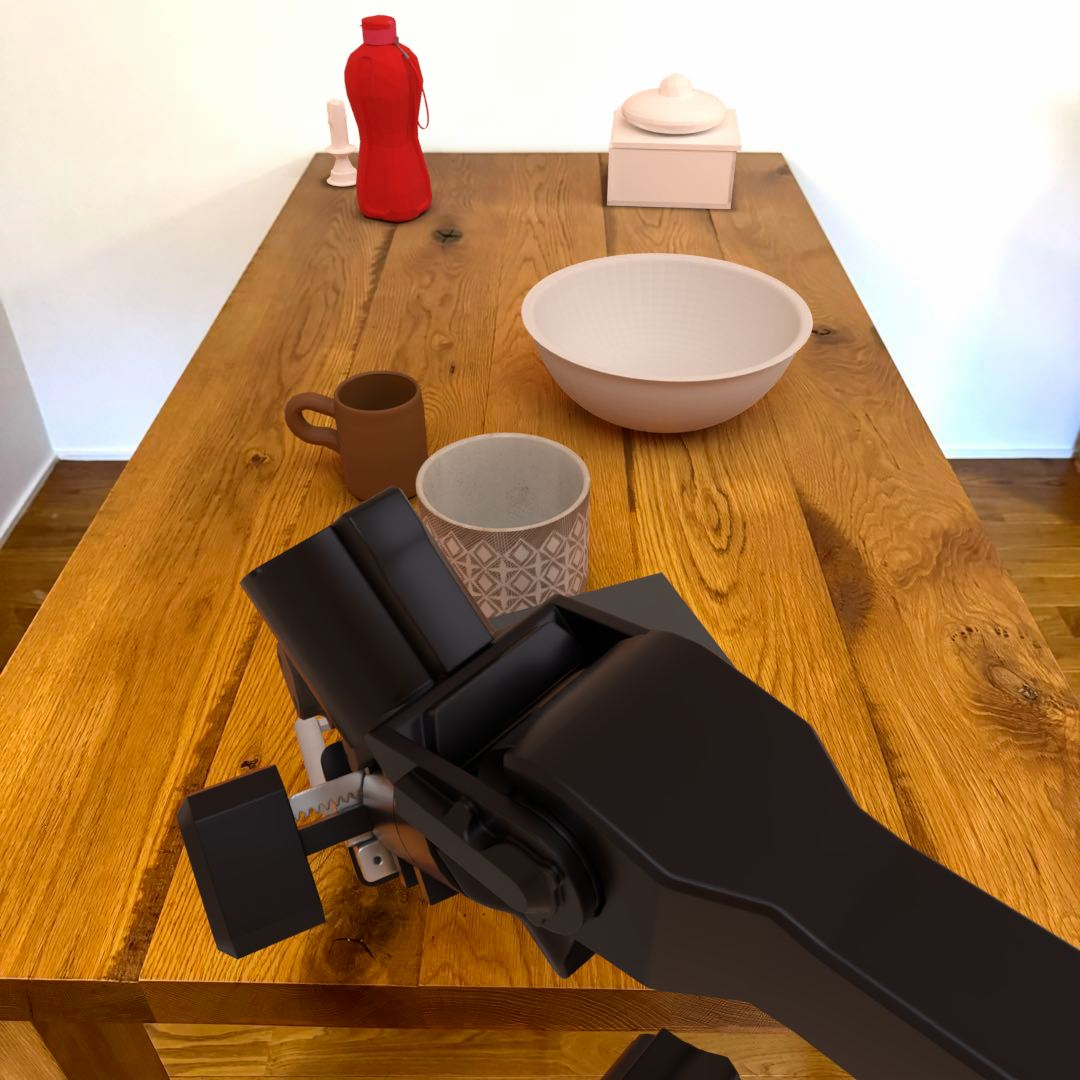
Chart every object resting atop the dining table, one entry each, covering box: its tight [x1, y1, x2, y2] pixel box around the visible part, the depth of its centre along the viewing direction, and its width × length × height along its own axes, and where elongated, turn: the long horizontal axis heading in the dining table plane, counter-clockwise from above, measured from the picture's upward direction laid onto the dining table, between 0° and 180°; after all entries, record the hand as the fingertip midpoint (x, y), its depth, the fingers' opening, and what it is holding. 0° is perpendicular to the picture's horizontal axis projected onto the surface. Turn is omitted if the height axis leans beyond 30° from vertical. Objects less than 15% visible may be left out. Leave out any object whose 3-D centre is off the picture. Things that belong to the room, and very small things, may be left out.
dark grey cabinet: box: [488, 571, 737, 713], centre depth 66 cm, size 14×12×9 cm
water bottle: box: [343, 14, 433, 223], centre depth 138 cm, size 9×11×25 cm
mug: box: [284, 369, 429, 502], centre depth 90 cm, size 12×8×9 cm, turn 90°
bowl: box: [520, 252, 814, 434], centre depth 101 cm, size 27×27×10 cm
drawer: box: [293, 716, 335, 816], centre depth 63 cm, size 17×10×7 cm, turn 112°
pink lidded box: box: [606, 72, 743, 210], centre depth 149 cm, size 18×18×16 cm
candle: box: [324, 97, 358, 188], centre depth 153 cm, size 5×5×12 cm
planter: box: [416, 432, 591, 619], centre depth 79 cm, size 13×13×10 cm
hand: (392, 780), depth 50 cm, fingers closed
